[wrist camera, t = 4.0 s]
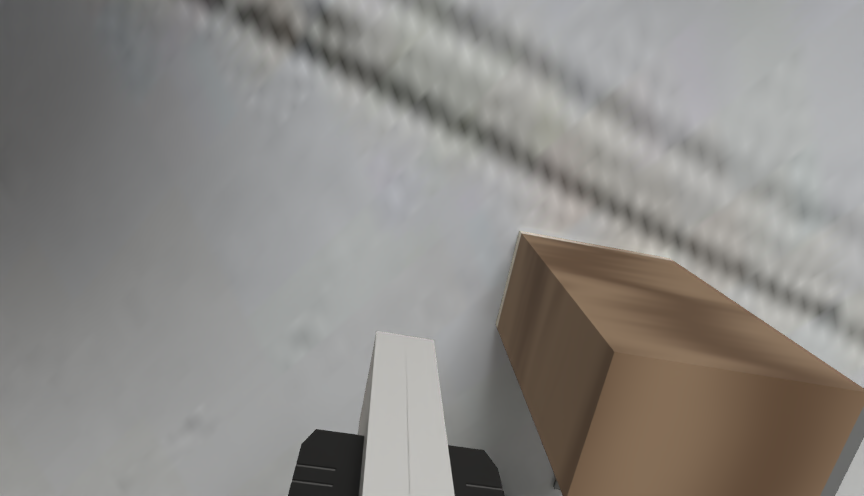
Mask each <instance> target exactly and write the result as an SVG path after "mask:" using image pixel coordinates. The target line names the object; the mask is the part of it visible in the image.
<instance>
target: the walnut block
mask: <svg viewBox="0 0 864 496" xmlns="http://www.w3.org/2000/svg"><path fill="white" fill-rule="evenodd" d="M496 327H497V329H498V332H499V334H500V337H501V339H502V342H503V344H504V347H505V350H506V352H507V355H508V357H509V360H510V362H511V365H512V367H513V370H514V372H515V375H516V378H517V380H518V383H519V385H520V388H521V390H522V393H523V395H524V398H525V400H526V403H527V406H528V408H529V411H530V413H531V416H532V418H533V421H534V423H535V426H536V428H537V431H538V434H539V436H540V439H541V441H542V444H543V446H544V449H545V451H546V454H547V456H548V459H549V462H550V464H551V467H552V469H553V472H554V474H555V477H556V479H557V482H558V484H559V487H560V490H561V492H562V495H563V496H820V495H821V493H822V491H823V489H824V487H825V485H826V483H827V481H828V478H829V476H830V474H831V472H832V470H833V468H834V466H835V464H836V462H837V460H838V458H839V456H840V454H841V452H842V450H843V448H844V446H845V444H846V441H847V439H848V437H849V435H850V433H851V431H852V429H853V427H854V425H855V423H856V421H857V419H858V417H859V415H860V413H861V411H862V409H863V407H864V388H862V387H861V386H859V385H858V384H856V383H855V382H853V381H852V380H850V379H849V378H847V377H846V376H844V375H843V374H841V373H840V372H838V371H837V370H835V369H834V368H832V367H831V366H829V365H828V364H826V363H825V362H823V361H822V360H820V359H819V358H817V357H816V356H814V355H813V354H812V353H810V352H809V351H807V350H806V349H804V348H803V347H801V346H800V345H798V344H797V343H795V342H794V341H792V340H791V339H789V338H788V337H786V336H785V335H783V334H782V333H780V332H779V331H777V330H776V329H774V328H773V327H771V326H770V325H768V324H767V323H765V322H764V321H762V320H761V319H759V318H758V317H756V316H755V315H753V314H752V313H750V312H749V311H747V310H746V309H744V308H743V307H741V306H740V305H739V304H737V303H736V302H734V301H733V300H731V299H730V298H728V297H727V296H725V295H724V294H722V293H721V292H719V291H718V290H716V289H715V288H713V287H712V286H710V285H709V284H707V283H706V282H704V281H703V280H701V279H700V278H698V277H697V276H695V275H694V274H692V273H691V272H689V271H688V270H686V269H685V268H683V267H682V266H680V265H679V264H677V263H676V262H674V261H673V260H671V259H670V258H665V257H660V256H654V255H649V254H643V253H638V252H632V251H627V250H621V249H616V248H611V247H605V246H600V245H594V244H589V243H583V242H578V241H572V240H567V239H561V238H556V237H550V236H545V235H539V234H534V233H529V232H523V231H519V235H518V239H517V243H516V247H515V251H514V254H513V258H512V262H511V266H510V270H509V274H508V278H507V282H506V286H505V290H504V294H503V297H502V301H501V305H500V309H499V313H498V317H497V321H496Z"/></svg>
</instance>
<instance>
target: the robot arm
mask: <svg viewBox="0 0 864 496" xmlns="http://www.w3.org/2000/svg"><path fill="white" fill-rule="evenodd" d="M288 496H504V492H503V491H502V484H501V480H500V476H499V472H498V468H497V467H496V466H495V464H494V463H493V462H492V460H491V459H490V458H489V456H488V455H487V454H486V453H485V451H484V450H478V449H471V448H464V447H456V446H449V445H448V442H447V435H446V427H445V420H444V413H443V405H442V398H441V390H440V383H439V375H438V368H437V360H436V353H435V345H434V340H431V339H425V338H418V337H412V336H406V335H399V334H393V333H387V332H380V331H376V337H375V342H374V347H373V352H372V358H371V363H370V368H369V374H368V379H367V384H366V389H365V395H364V400H363V405H362V410H361V416H360V421H359V430H358V435H355V434H347V433H340V432H333V431H325V430H318V429H316V430H315V431H314V432H313V433H312V434H311V435H310V436H309V437H308V438H307V439H306V440H305V441H304V442H303V443H302V445H301V448H300V452H299V456H298V460H297V464H296V467H295V471H294V475H293V479H292V483H291V486H290V490H289V494H288Z"/></svg>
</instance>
